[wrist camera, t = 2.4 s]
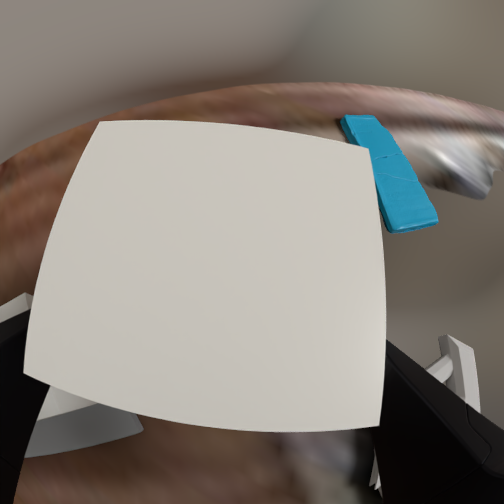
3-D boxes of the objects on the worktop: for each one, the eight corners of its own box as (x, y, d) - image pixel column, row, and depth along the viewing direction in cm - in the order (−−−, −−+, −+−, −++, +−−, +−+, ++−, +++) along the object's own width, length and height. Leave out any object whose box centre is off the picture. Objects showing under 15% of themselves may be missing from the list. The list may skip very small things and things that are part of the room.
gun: (482, 512, 8) (382, 574, 6) (459, 504, 11) (365, 556, 10) (478, 320, 15) (368, 365, 13) (450, 330, 18) (345, 367, 17)
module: (262, 373, 15) (378, 425, 3) (174, 362, 15) (23, 372, 3) (268, 295, 17) (367, 142, 5) (185, 285, 16) (102, 116, 4)
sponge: (389, 117, 23) (342, 108, 22) (444, 224, 19) (398, 228, 18) (382, 126, 25) (335, 119, 23) (432, 232, 21) (386, 237, 19)
